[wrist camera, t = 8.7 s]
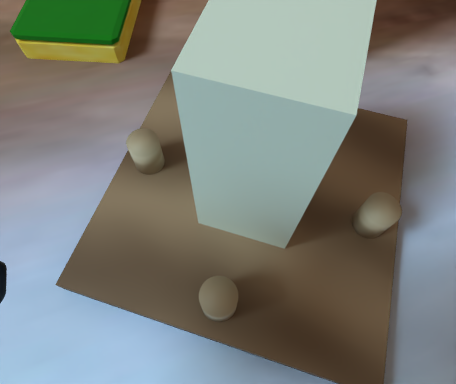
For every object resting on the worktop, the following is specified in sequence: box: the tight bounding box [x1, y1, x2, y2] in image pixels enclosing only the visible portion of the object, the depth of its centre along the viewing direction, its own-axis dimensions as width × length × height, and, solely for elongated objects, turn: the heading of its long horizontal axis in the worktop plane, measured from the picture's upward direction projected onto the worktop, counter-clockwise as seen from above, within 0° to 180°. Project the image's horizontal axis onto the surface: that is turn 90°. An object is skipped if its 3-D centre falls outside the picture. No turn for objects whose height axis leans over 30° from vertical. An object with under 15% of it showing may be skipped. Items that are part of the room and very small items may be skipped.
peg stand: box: [56, 72, 407, 384], centre depth 18 cm, size 15×15×3 cm
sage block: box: [171, 0, 377, 249], centre depth 13 cm, size 5×4×10 cm
